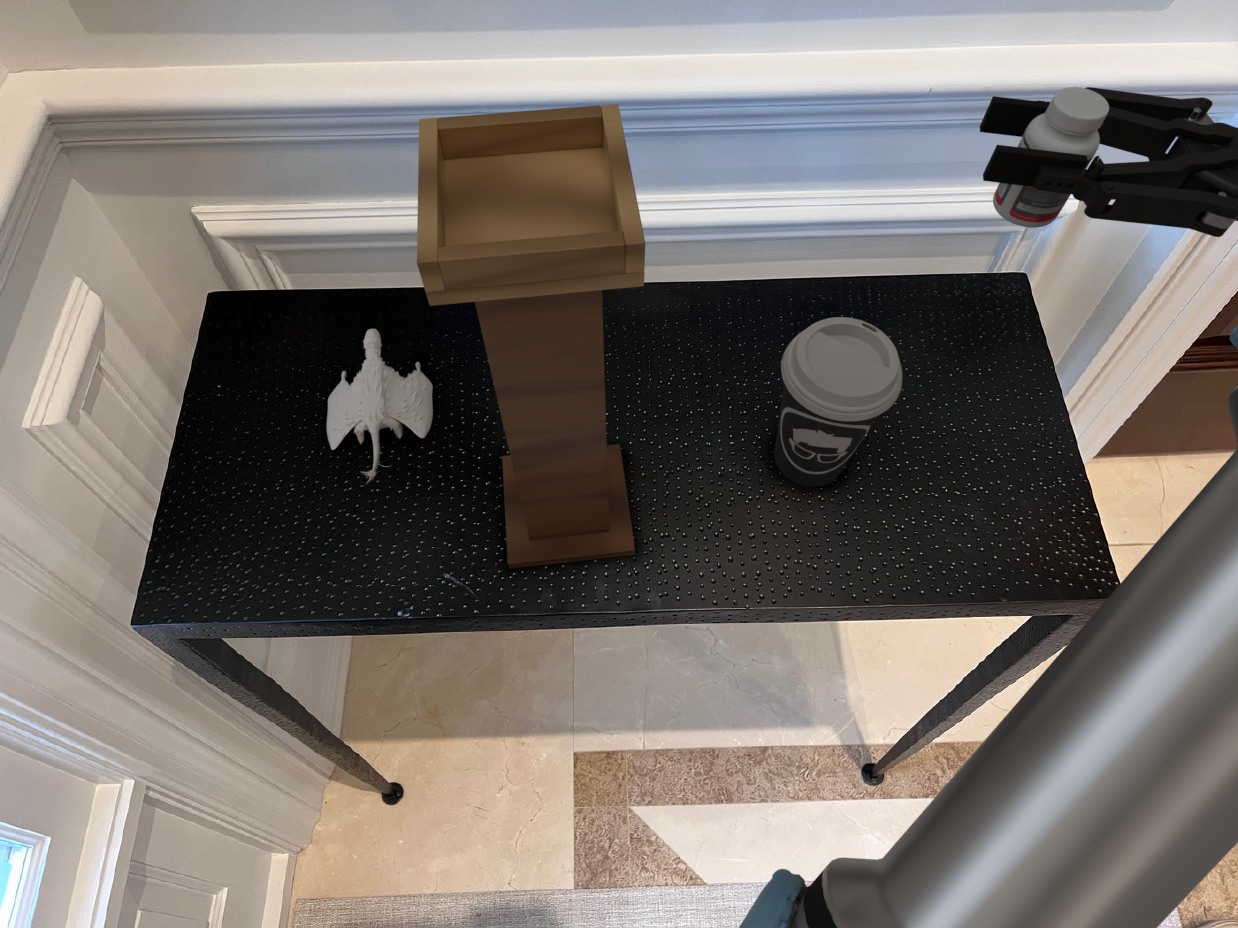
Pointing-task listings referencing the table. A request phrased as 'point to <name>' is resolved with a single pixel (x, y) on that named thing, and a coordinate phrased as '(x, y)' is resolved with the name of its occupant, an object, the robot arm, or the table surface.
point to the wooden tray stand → (539, 304)
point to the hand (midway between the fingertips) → (988, 138)
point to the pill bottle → (1059, 131)
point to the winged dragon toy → (379, 401)
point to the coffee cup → (832, 396)
